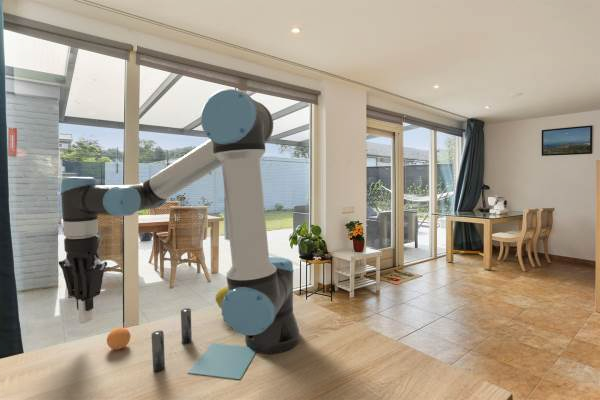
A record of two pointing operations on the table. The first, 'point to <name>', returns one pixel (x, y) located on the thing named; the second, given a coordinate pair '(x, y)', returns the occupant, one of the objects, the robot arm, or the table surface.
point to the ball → (118, 338)
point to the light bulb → (221, 296)
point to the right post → (186, 326)
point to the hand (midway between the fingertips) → (85, 321)
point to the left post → (158, 351)
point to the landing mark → (223, 361)
